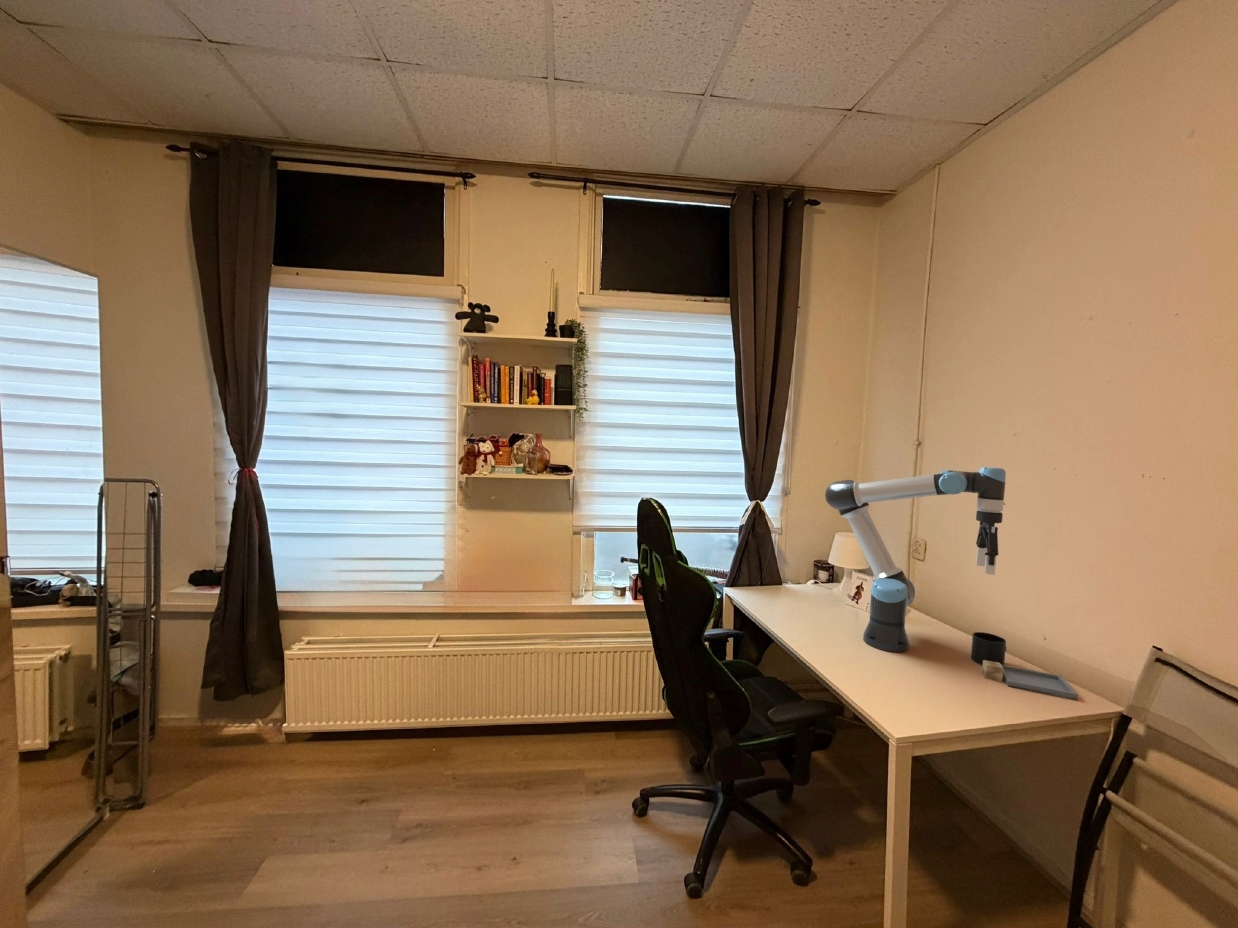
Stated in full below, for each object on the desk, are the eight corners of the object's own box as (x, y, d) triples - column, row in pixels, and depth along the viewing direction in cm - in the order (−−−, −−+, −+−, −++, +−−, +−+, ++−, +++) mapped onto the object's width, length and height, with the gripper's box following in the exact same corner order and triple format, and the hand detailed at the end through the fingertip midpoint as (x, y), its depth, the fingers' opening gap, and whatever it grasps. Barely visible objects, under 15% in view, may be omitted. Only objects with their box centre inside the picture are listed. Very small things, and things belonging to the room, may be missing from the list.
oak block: (985, 678, 164) (986, 664, 163) (982, 672, 168) (983, 659, 167) (1002, 681, 162) (1003, 668, 161) (998, 676, 166) (999, 662, 166)
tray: (1007, 686, 158) (1008, 680, 158) (996, 668, 171) (996, 663, 171) (1077, 700, 151) (1077, 694, 151) (1059, 680, 164) (1060, 675, 164)
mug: (1017, 667, 173) (1019, 641, 172) (987, 668, 171) (989, 642, 170) (992, 655, 182) (994, 631, 182) (964, 656, 180) (966, 632, 180)
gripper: (1012, 516, 165) (1007, 579, 166) (993, 508, 188) (989, 563, 189) (985, 513, 168) (980, 576, 169) (969, 506, 191) (965, 561, 192)
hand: (985, 569), depth 179 cm, fingers open, 13 cm apart
